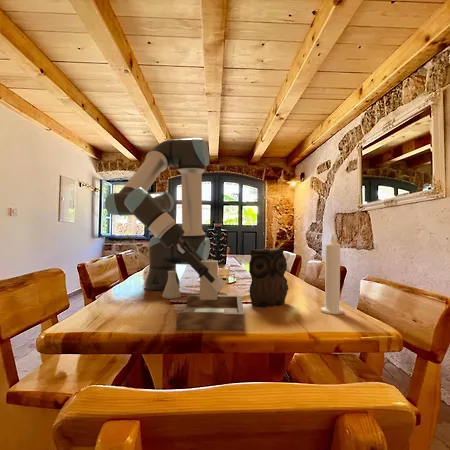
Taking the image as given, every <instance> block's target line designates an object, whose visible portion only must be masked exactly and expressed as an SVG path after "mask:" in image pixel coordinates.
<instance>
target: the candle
mask: <svg viewBox="0 0 450 450" xmlns="http://www.w3.org/2000/svg"><path fill="white" fill-rule="evenodd" d="M324 253H325V264H324V266H325V267H324V268H325V271H324V272H325V274H324V275H325V276H324V279H325V281H324V284H325V285H324V289H325V291H324V306H322V307H321V308H320V311H321V312H322V313H325V314H327V315H342V314H344V313H345V310H344V308H341V307H340V305H341V304H340V301H341V295H340V294H341V293H340V292H341V288H340V287H341V244H339V243H338V242H337V241H336V239H335V235H334V234H332V235H331V237H330V241H329V242H327V243H326V244H325V252H324Z"/></svg>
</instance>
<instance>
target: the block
mask: <svg viewBox="0 0 450 450" xmlns="http://www.w3.org/2000/svg"><path fill="white" fill-rule="evenodd" d="M201 262H202V263H203V264H204V266H205V267H206V268H208V270H210V271H211V272H212V273H213V274H214V275H215V276H216V277H217V278H218V276H219V272H218V270H219V261H218V260H215V259H214V260H210V259H209V260H208V259H207V260H201ZM199 293H200V300H217V291H216V290H215V289H214V288H213V287H212V286H211V285H210V284H209V283H208V282H207V280H206V279H205V278H204V277H203V276H202V277H201V278H200V277H199Z"/></svg>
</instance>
